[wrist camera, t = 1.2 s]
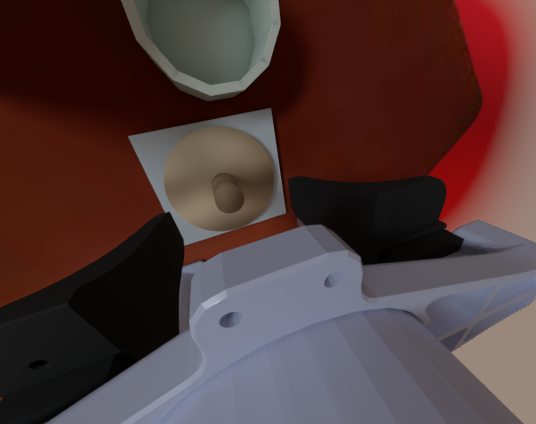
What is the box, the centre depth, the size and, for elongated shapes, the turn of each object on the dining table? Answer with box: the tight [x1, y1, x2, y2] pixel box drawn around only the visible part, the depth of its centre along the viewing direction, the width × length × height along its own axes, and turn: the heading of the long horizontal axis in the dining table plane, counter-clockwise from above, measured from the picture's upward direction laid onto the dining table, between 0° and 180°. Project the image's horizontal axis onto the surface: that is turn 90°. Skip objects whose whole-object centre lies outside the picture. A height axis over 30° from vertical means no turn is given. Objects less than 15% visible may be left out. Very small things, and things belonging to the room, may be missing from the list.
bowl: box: [121, 0, 281, 101], centre depth 14 cm, size 9×9×5 cm
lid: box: [164, 126, 274, 231], centre depth 18 cm, size 11×11×5 cm
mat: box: [128, 108, 286, 246], centre depth 21 cm, size 12×13×1 cm
